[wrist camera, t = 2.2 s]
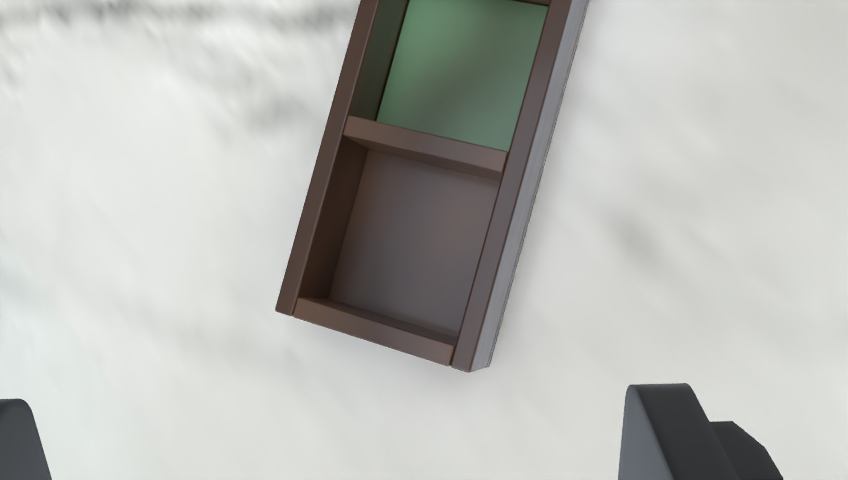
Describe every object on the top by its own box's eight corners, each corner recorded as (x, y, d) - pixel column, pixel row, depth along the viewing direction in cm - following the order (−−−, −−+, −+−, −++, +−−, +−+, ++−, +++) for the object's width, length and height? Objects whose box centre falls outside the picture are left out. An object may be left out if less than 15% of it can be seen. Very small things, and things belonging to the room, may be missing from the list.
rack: (311, 311, 34) (273, 311, 31) (450, -194, 34) (428, -249, 31) (489, 367, 32) (469, 373, 28) (637, -176, 32) (635, -233, 29)
